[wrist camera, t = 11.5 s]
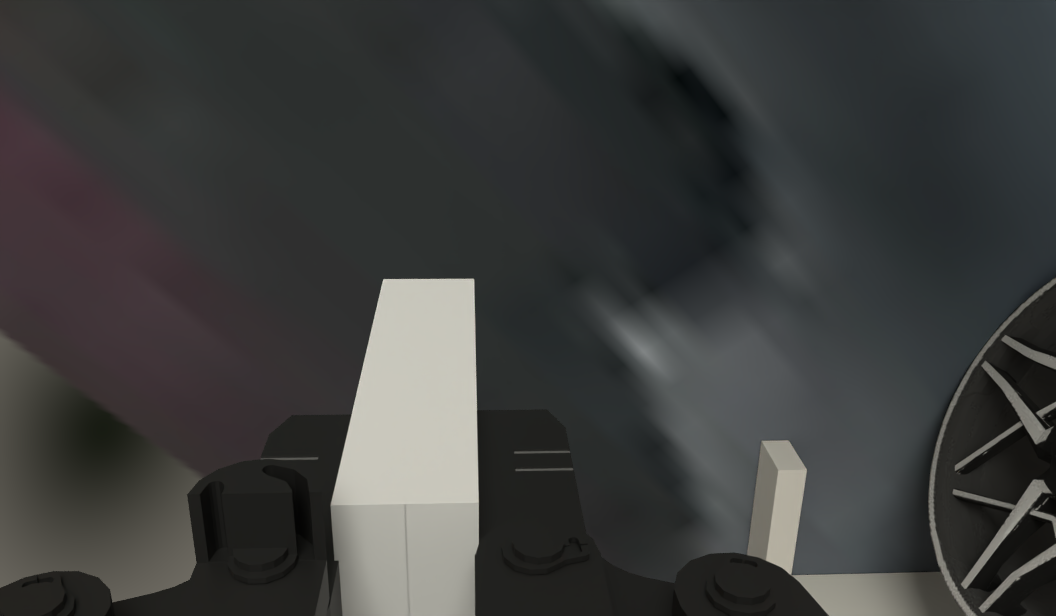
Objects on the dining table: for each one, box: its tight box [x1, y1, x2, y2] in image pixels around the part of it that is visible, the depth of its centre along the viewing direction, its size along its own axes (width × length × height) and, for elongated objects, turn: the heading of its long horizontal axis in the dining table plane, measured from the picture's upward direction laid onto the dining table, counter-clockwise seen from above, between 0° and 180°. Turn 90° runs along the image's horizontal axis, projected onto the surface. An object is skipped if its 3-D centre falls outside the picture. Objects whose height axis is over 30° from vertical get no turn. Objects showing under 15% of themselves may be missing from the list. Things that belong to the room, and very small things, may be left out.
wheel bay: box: [747, 440, 967, 616], centre depth 51 cm, size 10×31×7 cm, turn 89°
